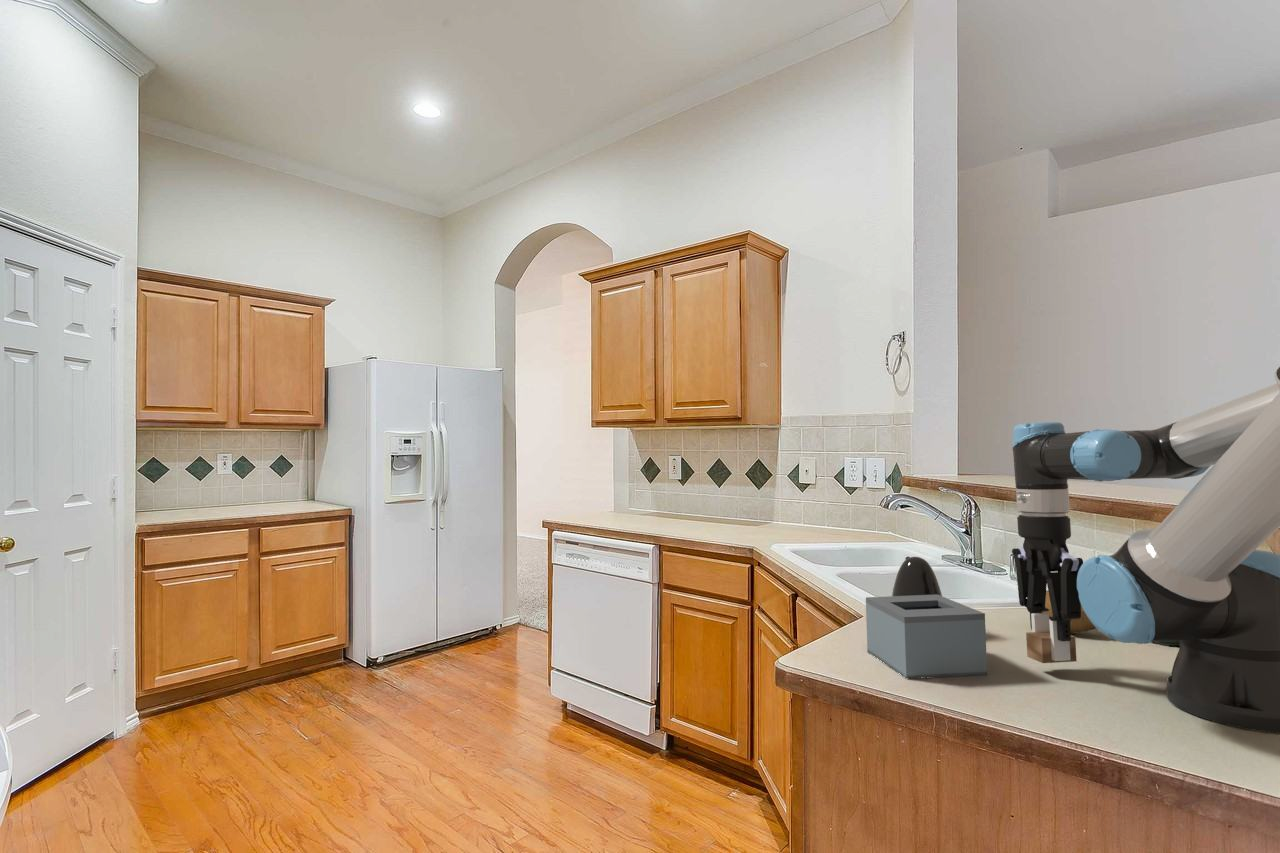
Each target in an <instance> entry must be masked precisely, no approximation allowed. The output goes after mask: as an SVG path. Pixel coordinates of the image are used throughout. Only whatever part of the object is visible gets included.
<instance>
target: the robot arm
mask: <svg viewBox="0 0 1280 853" xmlns="http://www.w3.org/2000/svg"><path fill="white" fill-rule="evenodd" d="M1274 379H1275V382H1276V383H1275V384H1273V385H1270V386H1268V387H1264V388H1262V389H1261V388H1260V389H1259V390H1256V391H1254V392H1251V393H1248V394H1245V395H1243V396H1241V397H1237V398H1235V399H1232V400H1230V401H1227V402H1224V403H1223V404H1219V405H1217V406H1215V407H1212V408H1209V409H1207V410H1203V411H1202V412H1201V411H1200V412H1198V413H1195V414H1193V415H1190V416H1188V417H1186V418H1185V417H1184V418H1183V419H1179V420H1177V421H1176V422H1171V423H1169V424H1167V425H1164V426H1162V427H1159V428H1156V429H1155V428H1154V429H1149V430H1147V429H1145V430H1143V429H1142V430H1141V429H1140V430H1139V429H1138V430H1118V429H1117V430H1116V429H1093V430H1087V431H1086V430H1085V431H1077V432H1076V431H1074V432H1066V430H1065V426H1064V424H1063V423H1062V422H1060V421H1059V422H1057V421H1049V422H1048V421H1047V422H1046V421H1045V422H1044V421H1042V422H1029V423H1028V422H1027V423H1025V422H1024V423H1018V424H1017V425H1015V426H1014V428H1013V430H1012V431H1013V432H1012V446H1011V449H1012V452H1013V454H1012V455H1013V467H1014V468H1013V469H1014V481H1015V483H1014V484H1015V492H1016V511H1017V512H1019V513H1021V514H1020V515H1018V516H1017V518H1016V519H1017V535H1018V536H1019V537H1021V538H1022V539H1024V541H1023V544H1022V547H1020V548H1012V550H1011V554H1012V556H1013V557H1012V558H1014V562H1015V570H1016V571H1015V572H1016V581H1017V583H1016V584H1017V591H1018V603H1019V605H1020V606H1021V607H1025V608H1026V610H1027V612H1028V613H1029V623H1030V630H1031V632H1049V631H1050V638H1051V653H1052V660H1053V661H1068V660H1071V658H1070V643H1069V641H1070V640H1071V635H1072V633H1071V630H1070V621H1071V620H1073V619H1080V618H1081V605H1082V608H1083V610H1084V612H1085V614H1086V615H1087V617H1088V618H1089V620H1090V621H1091V622H1092V624H1093V625H1094V626H1095V627H1096V629H1097V630H1098V631H1099V633H1102V634H1103V635H1104V636H1106V637H1107V638H1109V639H1111V640H1115V641H1116V642H1118V643H1119V642H1120V643H1125V644H1127V643H1128V644H1129V643H1131V644H1133V643H1134V644H1139V645H1143V644H1144V645H1146V644H1152V643H1157V642H1165V641H1178V640H1180V645H1179V648H1178V651H1177V654H1176V656H1175V659H1174V662H1173V666H1172V669H1171V673H1170V674H1171V675H1169V676H1168V678H1167V680H1166V698H1167V700H1168V701H1169V702H1170V703H1171V704H1172V705H1174V706H1175V707H1177V708H1179V709H1180V710H1182V711H1185V712H1187V713H1189V714H1192V715H1194V716H1196V717H1199V718H1202V719H1204V720H1209V721H1211V722H1212V721H1213V722H1216V723H1219V724H1223V725H1226V726H1227V725H1228V726H1232V727H1235V728H1241V729H1246V730H1252V731H1260V732H1266V733H1275V734H1280V554H1278V553H1275V552H1272V551H1266V550H1261V549H1260V550H1259V549H1258V548H1259V547H1260V546H1261V545H1263V543H1265V542H1266V541H1267V540H1268V539H1269V538H1270V537H1271V536H1272V535H1273V534H1275V533H1276V532H1277V530H1279V529H1280V366H1279V367H1278V368H1277V369H1276V370H1275V372H1274ZM1210 467H1211V468H1210ZM1209 468H1210V469H1209ZM1208 469H1209V470H1208ZM1206 471H1207V472H1206ZM1205 472H1206V473H1205ZM1204 473H1205V474H1204ZM1202 474H1204V475H1203V476H1202V477H1201V478H1200V479H1199V481H1198V482H1197V483H1196V484H1195V485H1194V486H1193V488H1191V490H1190V491H1189V492H1188V493H1187V494H1186V495H1185V496H1184V497H1183V499H1181V501H1180V502H1179V503H1178V504H1177V505H1176V506H1175V507H1174V508H1173V509H1172V511H1171V512H1170V513H1168V515H1167V516H1166V517H1165V518H1164V519H1163V520H1162V522H1160V524H1158V526H1157V527H1156V528H1154V529H1152V528H1146V529H1140V530H1137V531H1136V532H1133V534H1131V535H1130V536H1129V537H1128V539H1127V540H1126V541H1125V542H1124V543H1123V544H1122V545H1121V546H1120V547H1119V549H1118V550H1117V551H1116V552H1114V553H1113V554H1111V555H1106V554H1099V555H1097V556H1094V557H1090V558H1088V559H1086V560H1085V561H1084V560H1083V559H1082V557H1075V556H1073V555H1072V554H1070V552H1069V551H1070V550H1069V548H1068V545H1067V540H1068V539H1070V538H1071V537H1072V527H1071V518H1070V516H1068V515H1066V514H1068V513H1070V511H1071V507H1070V506H1071V505H1070V494H1069V483H1068V480H1075V481H1077V480H1079V481H1095V482H1114V481H1121V480H1137V479H1139V480H1140V479H1141V480H1143V479H1172V480H1173V479H1174V480H1179V479H1185V478H1192V477H1196V476H1197V477H1198V476H1200V475H1202ZM1046 590H1048V592H1049V597H1050V603H1051V608H1052V613H1053V617H1049V614H1048V613H1042V612H1047V611H1049V609H1048V608H1046V607H1045V601H1046ZM1037 602H1038V603H1037Z"/></svg>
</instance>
